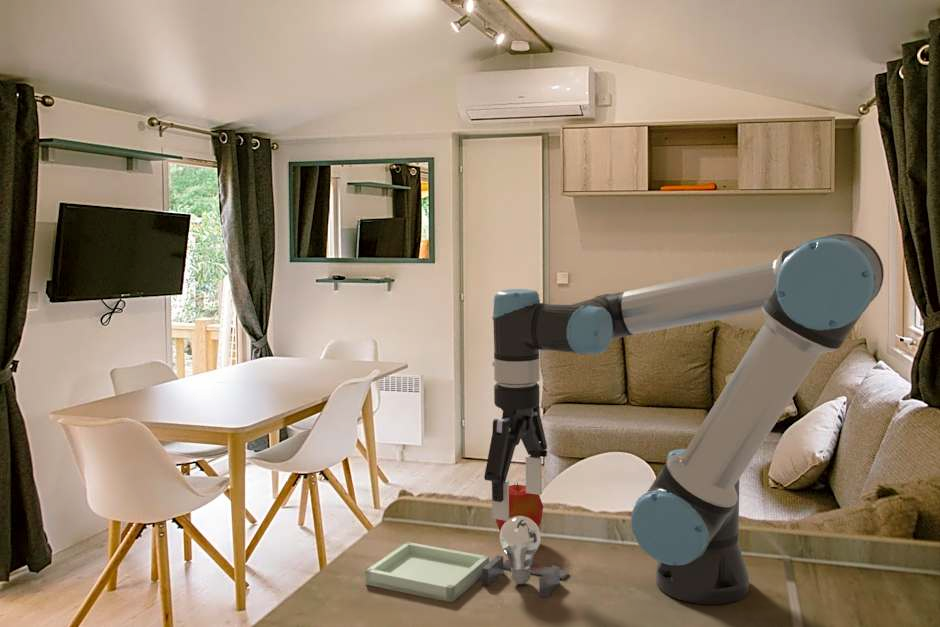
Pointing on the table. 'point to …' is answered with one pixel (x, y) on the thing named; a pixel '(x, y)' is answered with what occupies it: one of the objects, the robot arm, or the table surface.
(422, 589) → the parts tray
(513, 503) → the apple
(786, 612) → the table surface
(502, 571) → the clip holder
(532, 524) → the light bulb
